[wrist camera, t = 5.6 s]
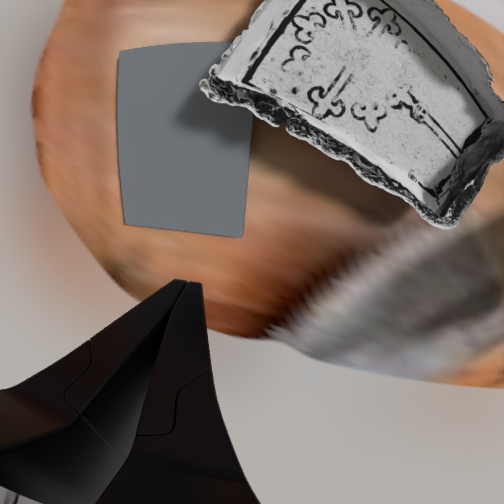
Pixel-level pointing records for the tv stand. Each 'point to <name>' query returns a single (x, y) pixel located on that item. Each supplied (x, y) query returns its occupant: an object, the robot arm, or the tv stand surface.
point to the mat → (180, 142)
